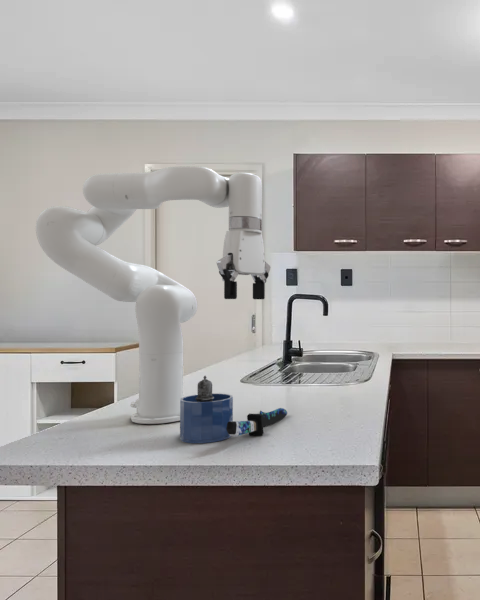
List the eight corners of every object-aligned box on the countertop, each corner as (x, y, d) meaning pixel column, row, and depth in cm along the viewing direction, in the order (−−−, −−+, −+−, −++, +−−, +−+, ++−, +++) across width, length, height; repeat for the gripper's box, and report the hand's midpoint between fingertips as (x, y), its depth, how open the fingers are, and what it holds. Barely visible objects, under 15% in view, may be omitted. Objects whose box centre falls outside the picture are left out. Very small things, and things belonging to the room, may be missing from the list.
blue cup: (169, 440, 103) (169, 399, 103) (206, 428, 112) (206, 392, 112) (207, 445, 99) (207, 404, 99) (242, 433, 108) (242, 395, 108)
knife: (232, 445, 94) (233, 420, 95) (217, 444, 95) (218, 419, 96) (296, 424, 124) (297, 406, 125) (285, 424, 125) (286, 405, 125)
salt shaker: (226, 432, 107) (226, 374, 107) (206, 439, 101) (207, 378, 102) (202, 429, 109) (203, 372, 109) (182, 436, 103) (182, 376, 103)
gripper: (256, 232, 131) (256, 299, 131) (205, 222, 116) (205, 299, 116) (280, 230, 128) (280, 299, 128) (231, 220, 113) (231, 299, 113)
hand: (245, 299), depth 122 cm, fingers open, 9 cm apart
